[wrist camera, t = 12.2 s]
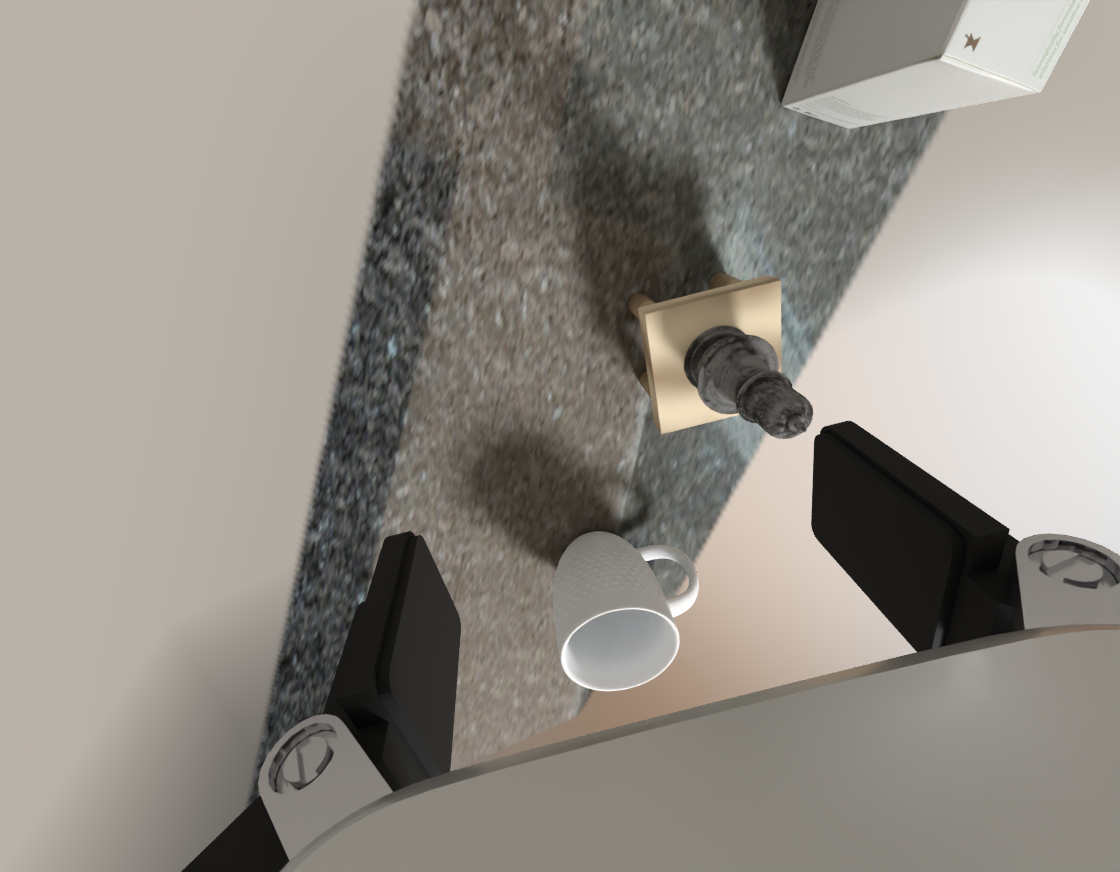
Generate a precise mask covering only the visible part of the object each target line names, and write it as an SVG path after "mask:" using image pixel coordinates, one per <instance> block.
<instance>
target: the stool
mask: <svg viewBox="0 0 1120 872" xmlns="http://www.w3.org/2000/svg"><path fill="white" fill-rule="evenodd" d="M709 289H710V290H707V291H703V292H699V293H695V294H691V295H687V296H683V297H679V298H675V299H671V300H667V301H663V302H659V303H654V302H653V301H652V300H651V299H649V298H648V297H647V296H646V295H644V294H642V293H636V294H634V295H632V296H631V298H630V299H629V302H628V307H629V310H630V311H631V312H632V313H633V314H634V315H635V316H636V317H637V318H638V319H639V320H640V326H641V333H642V340H643V347H644V354H645V361H646V368H647V370H646V371H644V372H643V373H642V374H641V376H640V383H641V385H642V386H643V388H644V389H645V391H646V392H647V394H648V395H649V396H650V398H651V402H652V409H653V416H654V423H655V425H656V426H657V428H658V430H659V431H660V433H661V434H664V433H668V432H672V431H676V430H680V429H684V428H688V427H692V426H696V425H700V424H704V423H708V422H712V421H716V420H720V419H724V418H728V417H732V416H736V415H740V414H739V413H737V414H731V415H730V414H720V413H718V412H715V411H713V410H711V409H710V408H709V407H707V406H706V405H705V404H704V403H703V401H702V400H701V398H700V396H699V393H698V390H697V388H696V387H694V386H693V385H692V384H691V383H690V382H689V380H688V378H687V377H686V373H685V370H684V360H685V356H686V353H687V350H688V348H689V347H690V345H691V343H692V342H693V341H694V340H695V339H696V338H697V337H698V336H699V335H700V334H701V333H703V332H704V331H706V330H708V329H710V328H713V327H715V326H723V325H726V326H733V327H735V328H737V329H739V330H741V331H742V332H743V333H744V334H747V335H754V336H758V337H760V338H762V339H764V340H766V341H767V342H768V343H769V344H770V345H771V346H772V347H773V348H774V350H775V352H776V354H777V356H778V362H779V370H778V372H780V373H781V280H779V279H776V278H774V277H771V276H768V275H766V276H762V277H758V278H754V279H750V280H746V281H741V280H739V279H736V278H734V277H731V276H729V275H727V274H724V273H716V274H714V275H713V276H712V277H711V278H710V280H709Z"/></svg>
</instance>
